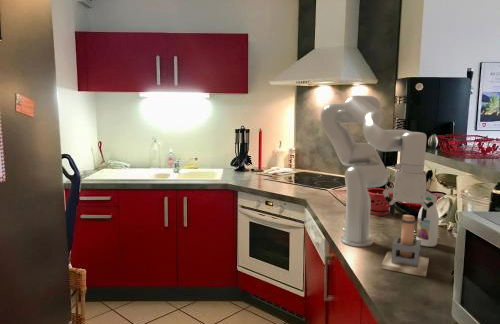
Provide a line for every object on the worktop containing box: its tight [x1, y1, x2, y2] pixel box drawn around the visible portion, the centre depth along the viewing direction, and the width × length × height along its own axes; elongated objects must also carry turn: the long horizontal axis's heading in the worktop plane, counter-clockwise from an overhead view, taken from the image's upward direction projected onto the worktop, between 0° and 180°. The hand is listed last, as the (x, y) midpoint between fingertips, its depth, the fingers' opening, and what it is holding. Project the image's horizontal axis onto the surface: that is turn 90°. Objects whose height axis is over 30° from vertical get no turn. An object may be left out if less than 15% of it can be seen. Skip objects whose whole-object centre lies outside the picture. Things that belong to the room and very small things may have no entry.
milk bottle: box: [415, 196, 440, 247], centre depth 161 cm, size 8×8×20 cm
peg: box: [400, 214, 416, 258], centre depth 139 cm, size 4×4×16 cm
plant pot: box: [367, 187, 393, 216], centre depth 206 cm, size 13×13×12 cm
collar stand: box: [380, 236, 430, 277], centre depth 139 cm, size 14×14×8 cm
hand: (407, 217), depth 138 cm, fingers open, 9 cm apart
